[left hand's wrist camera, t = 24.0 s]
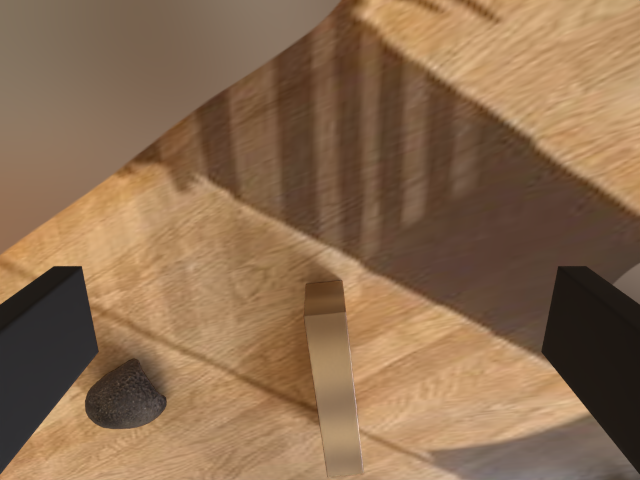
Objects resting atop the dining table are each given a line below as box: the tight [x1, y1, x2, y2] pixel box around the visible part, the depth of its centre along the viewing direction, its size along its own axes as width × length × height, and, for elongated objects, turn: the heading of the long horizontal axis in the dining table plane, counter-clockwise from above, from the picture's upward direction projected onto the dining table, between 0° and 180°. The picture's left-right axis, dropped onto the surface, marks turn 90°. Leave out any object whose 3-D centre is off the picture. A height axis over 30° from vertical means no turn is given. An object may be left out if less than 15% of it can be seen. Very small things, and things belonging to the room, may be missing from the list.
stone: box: [85, 359, 166, 429], centre depth 60 cm, size 10×8×10 cm
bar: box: [304, 280, 364, 477], centre depth 57 cm, size 24×5×8 cm, turn 7°
